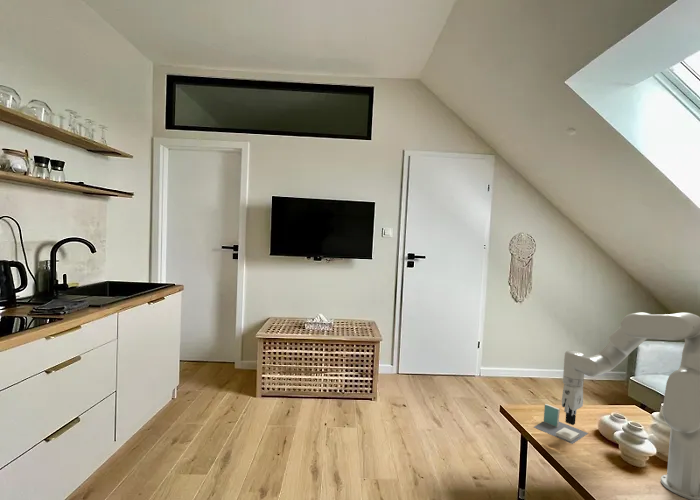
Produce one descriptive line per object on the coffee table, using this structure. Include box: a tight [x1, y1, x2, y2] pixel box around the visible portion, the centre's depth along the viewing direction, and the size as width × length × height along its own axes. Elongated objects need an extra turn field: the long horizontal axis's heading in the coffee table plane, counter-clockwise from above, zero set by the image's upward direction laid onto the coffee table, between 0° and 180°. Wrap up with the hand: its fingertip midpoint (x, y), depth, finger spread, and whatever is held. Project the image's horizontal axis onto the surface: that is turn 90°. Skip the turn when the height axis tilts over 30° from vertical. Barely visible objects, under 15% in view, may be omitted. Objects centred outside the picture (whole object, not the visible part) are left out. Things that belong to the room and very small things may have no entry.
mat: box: [533, 421, 589, 445], centre depth 163 cm, size 16×16×1 cm
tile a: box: [556, 427, 579, 442], centre depth 159 cm, size 6×1×8 cm
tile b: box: [543, 403, 560, 427], centre depth 168 cm, size 6×1×8 cm, turn 37°
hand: (570, 423), depth 160 cm, fingers closed
